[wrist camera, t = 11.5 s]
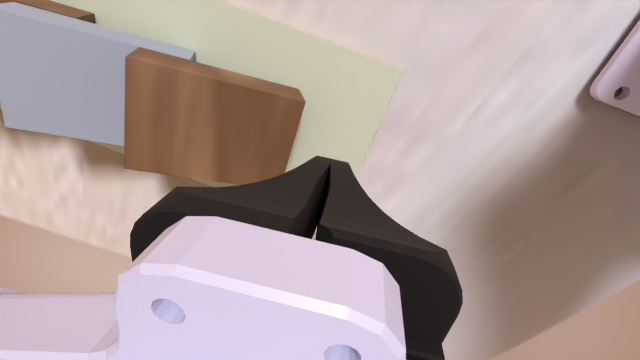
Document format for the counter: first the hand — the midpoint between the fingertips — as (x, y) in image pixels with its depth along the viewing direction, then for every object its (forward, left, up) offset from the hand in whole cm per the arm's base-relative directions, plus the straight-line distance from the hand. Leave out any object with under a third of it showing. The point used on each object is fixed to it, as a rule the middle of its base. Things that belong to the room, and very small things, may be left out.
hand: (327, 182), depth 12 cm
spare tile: (+7, 0, -3) cm, 8 cm away
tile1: (+2, 0, -3) cm, 3 cm away
